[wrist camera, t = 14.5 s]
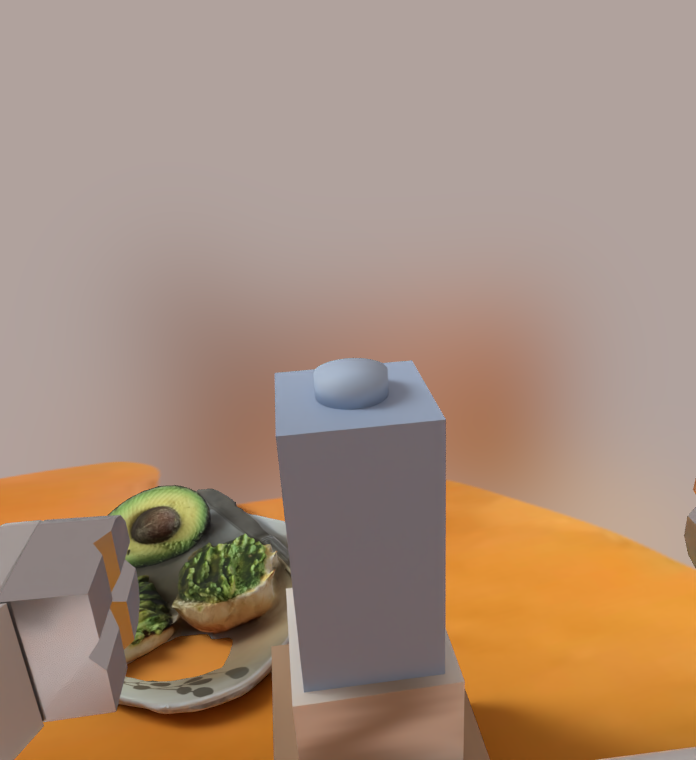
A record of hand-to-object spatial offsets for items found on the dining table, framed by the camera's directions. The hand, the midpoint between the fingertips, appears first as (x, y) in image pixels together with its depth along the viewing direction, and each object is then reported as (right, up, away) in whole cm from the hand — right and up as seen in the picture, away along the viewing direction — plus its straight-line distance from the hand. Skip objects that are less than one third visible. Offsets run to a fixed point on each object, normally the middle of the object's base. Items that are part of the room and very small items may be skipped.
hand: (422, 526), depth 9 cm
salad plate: (-11, -12, +32) cm, 36 cm away
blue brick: (0, -8, +16) cm, 18 cm away
